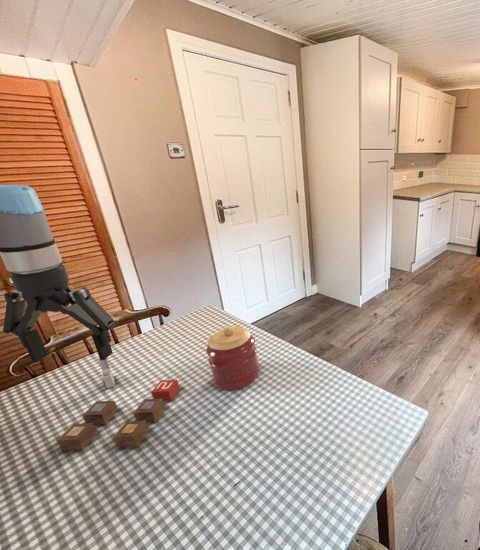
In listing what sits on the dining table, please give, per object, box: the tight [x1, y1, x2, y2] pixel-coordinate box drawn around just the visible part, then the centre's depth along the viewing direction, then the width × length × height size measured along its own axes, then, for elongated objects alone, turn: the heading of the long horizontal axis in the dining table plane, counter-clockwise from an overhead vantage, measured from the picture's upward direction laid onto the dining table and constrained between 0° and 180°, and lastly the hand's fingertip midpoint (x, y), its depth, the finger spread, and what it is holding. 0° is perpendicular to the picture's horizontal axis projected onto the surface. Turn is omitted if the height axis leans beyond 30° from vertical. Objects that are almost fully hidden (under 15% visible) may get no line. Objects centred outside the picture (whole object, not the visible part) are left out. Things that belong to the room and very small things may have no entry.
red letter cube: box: [151, 379, 181, 402], centre depth 84 cm, size 4×4×4 cm
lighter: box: [97, 356, 116, 389], centre depth 88 cm, size 7×2×8 cm, turn 41°
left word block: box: [81, 400, 119, 426], centre depth 77 cm, size 4×4×4 cm
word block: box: [56, 422, 99, 452], centre depth 70 cm, size 4×4×4 cm
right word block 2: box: [133, 398, 166, 424], centre depth 77 cm, size 4×4×4 cm
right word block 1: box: [112, 420, 150, 449], centre depth 71 cm, size 4×4×4 cm
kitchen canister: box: [205, 325, 260, 392], centre depth 89 cm, size 13×13×18 cm
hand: (74, 357), depth 67 cm, fingers open, 13 cm apart
